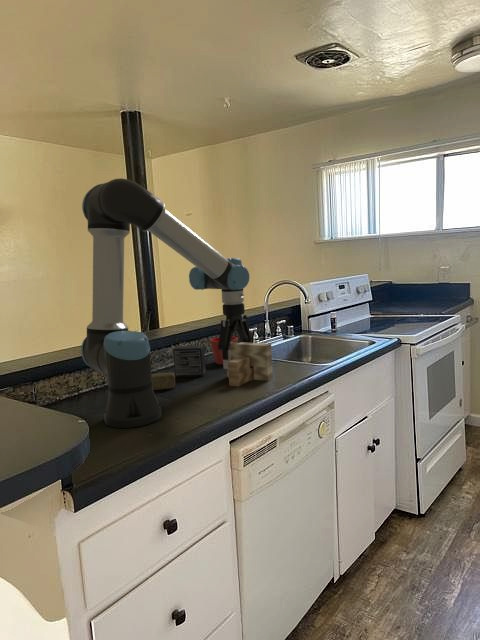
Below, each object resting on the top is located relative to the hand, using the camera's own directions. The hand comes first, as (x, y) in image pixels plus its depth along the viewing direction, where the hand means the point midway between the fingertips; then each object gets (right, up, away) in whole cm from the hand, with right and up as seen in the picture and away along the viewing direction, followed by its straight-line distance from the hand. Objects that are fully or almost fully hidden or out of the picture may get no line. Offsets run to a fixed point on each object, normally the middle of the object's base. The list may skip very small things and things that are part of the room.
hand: (236, 364), depth 170 cm
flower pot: (-5, -2, +24) cm, 25 cm away
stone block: (-26, -7, -9) cm, 28 cm away
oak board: (+5, -4, -2) cm, 7 cm away
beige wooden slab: (+4, -4, -2) cm, 7 cm away
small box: (-17, -5, +7) cm, 19 cm away
